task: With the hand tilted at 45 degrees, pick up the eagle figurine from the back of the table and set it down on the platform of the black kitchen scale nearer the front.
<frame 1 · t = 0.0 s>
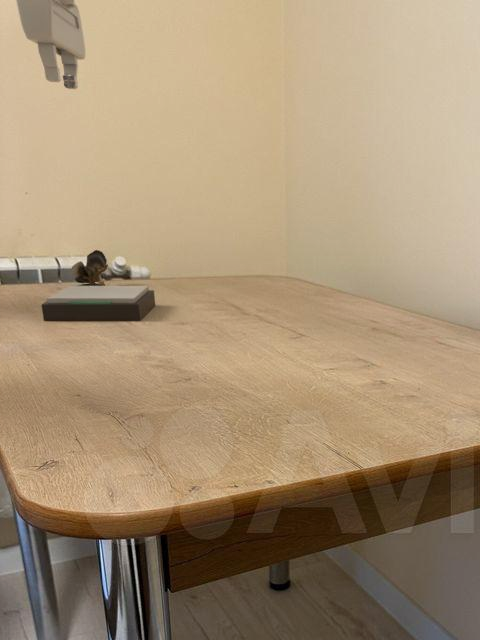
hand: (62, 85, 108), 33 cm above the table, tool pointing down, fingers open, 8 cm apart
scale: (103, 312, 112), on the table
eagle figurine: (93, 287, 137), on the table
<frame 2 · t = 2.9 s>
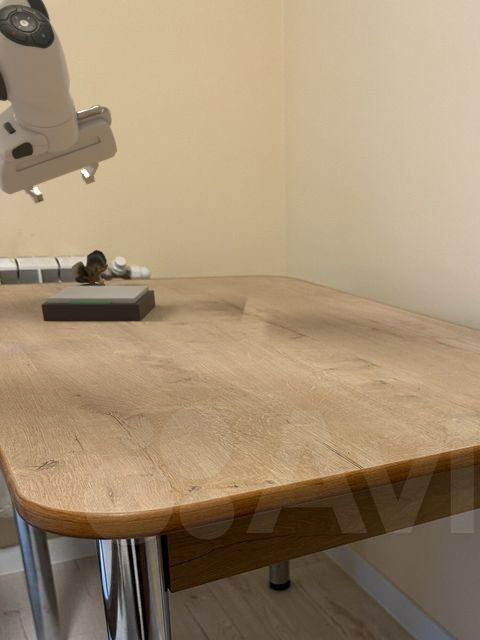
hand: (63, 190, 121), 17 cm above the table, tool tilted 45°, fingers open, 8 cm apart
nothing on the table moved.
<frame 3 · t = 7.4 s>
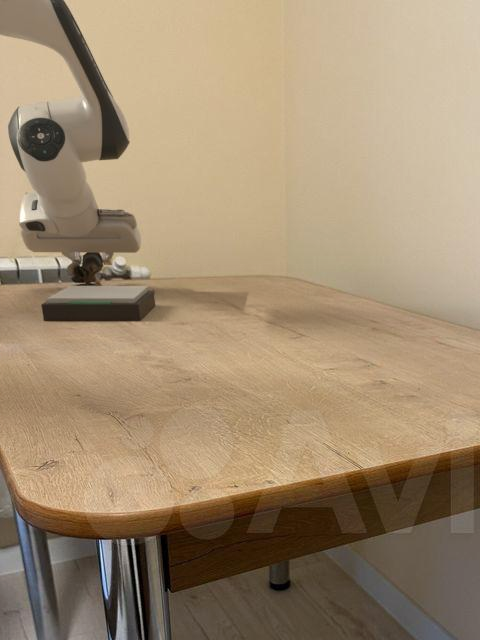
hand: (93, 262, 136), 4 cm above the table, tool tilted 45°, fingers closed on eagle figurine, 4 cm apart
eagle figurine: (90, 287, 137), on the table, touching gripper
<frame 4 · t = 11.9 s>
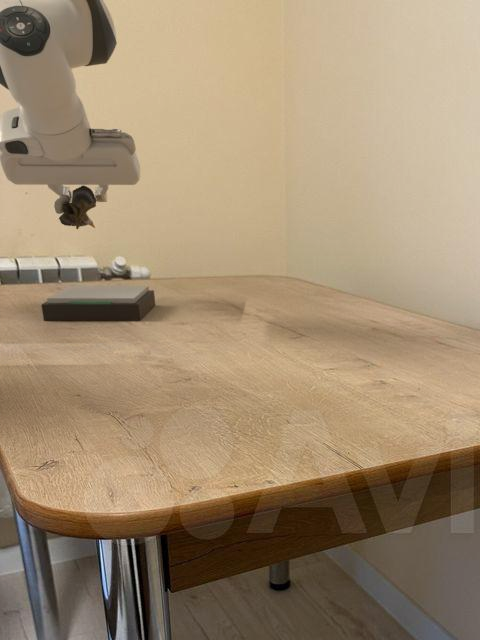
hand: (84, 199, 117), 16 cm above the table, tool tilted 45°, fingers closed on eagle figurine, 4 cm apart
eagle figurine: (81, 229, 118), point 12 cm above the table, touching gripper
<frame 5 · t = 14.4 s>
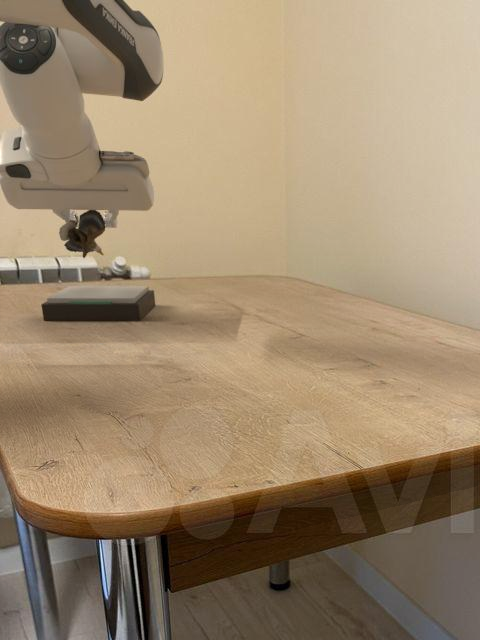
hand: (92, 224, 107), 13 cm above the table, tool tilted 45°, fingers closed on eagle figurine, 4 cm apart
eagle figurine: (88, 256, 109), point 8 cm above the table, touching gripper
when the fingers open (8 cm above the table, at t = 16.3 s): eagle figurine stays where it is, resting on scale.
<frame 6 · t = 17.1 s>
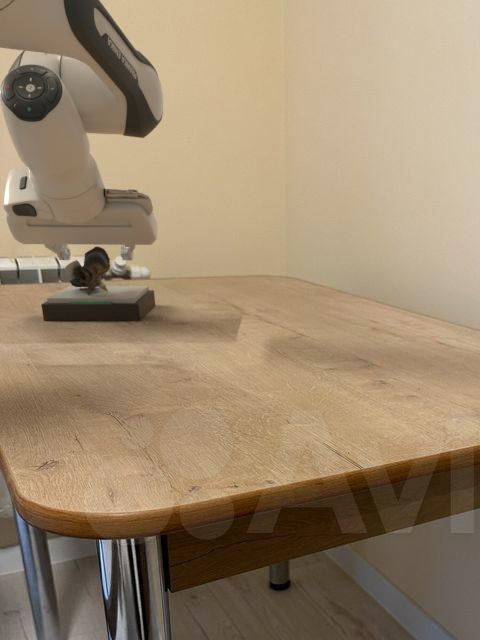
hand: (97, 256, 109), 8 cm above the table, tool tilted 45°, fingers open, 8 cm apart
eagle figurine: (93, 292, 111), point 3 cm above the table, touching scale
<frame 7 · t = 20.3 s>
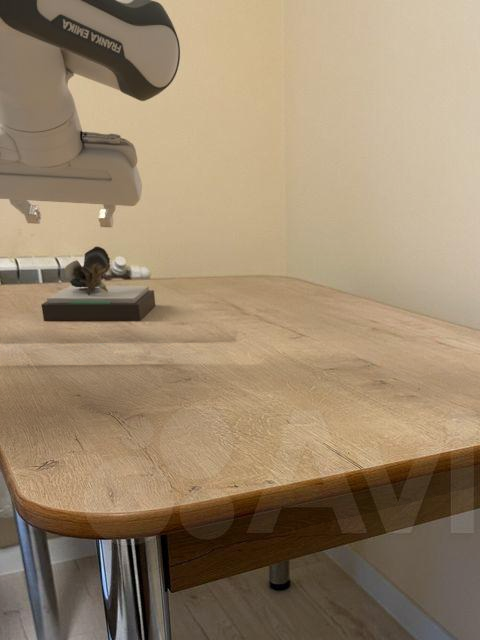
hand: (71, 222, 95), 14 cm above the table, tool tilted 40°, fingers open, 8 cm apart
nothing on the table moved.
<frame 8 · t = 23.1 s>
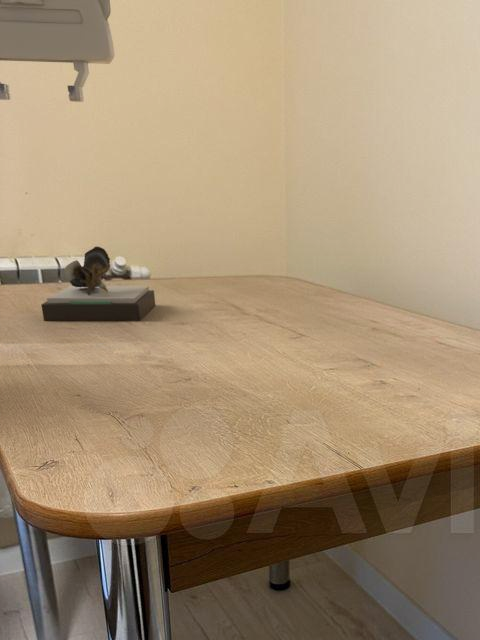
hand: (40, 100, 94), 29 cm above the table, tool pointing down, fingers open, 8 cm apart
nothing on the table moved.
at the end: eagle figurine inside the target area on the scale (1.1 cm from its centre), point 3.0 cm above the scale's base; the gripper is holding nothing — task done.
